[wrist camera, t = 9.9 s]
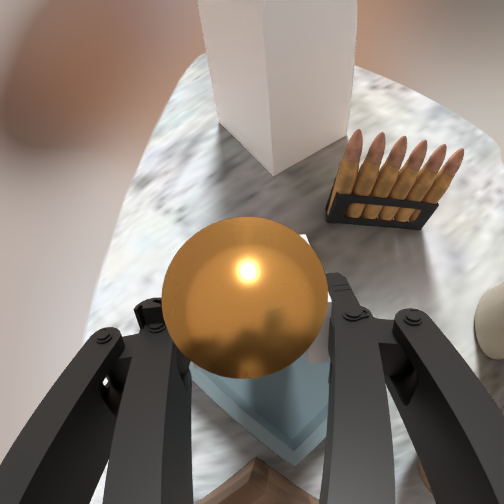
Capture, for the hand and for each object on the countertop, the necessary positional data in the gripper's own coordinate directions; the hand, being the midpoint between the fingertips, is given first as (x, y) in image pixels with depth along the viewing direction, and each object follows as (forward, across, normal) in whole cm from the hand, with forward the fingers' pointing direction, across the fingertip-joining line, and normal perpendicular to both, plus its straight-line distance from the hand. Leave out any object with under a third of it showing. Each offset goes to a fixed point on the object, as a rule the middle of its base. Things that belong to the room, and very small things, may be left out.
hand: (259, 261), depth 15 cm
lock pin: (+3, 0, -8) cm, 9 cm away
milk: (+23, +3, +8) cm, 25 cm away
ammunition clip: (+13, +12, -2) cm, 18 cm away
